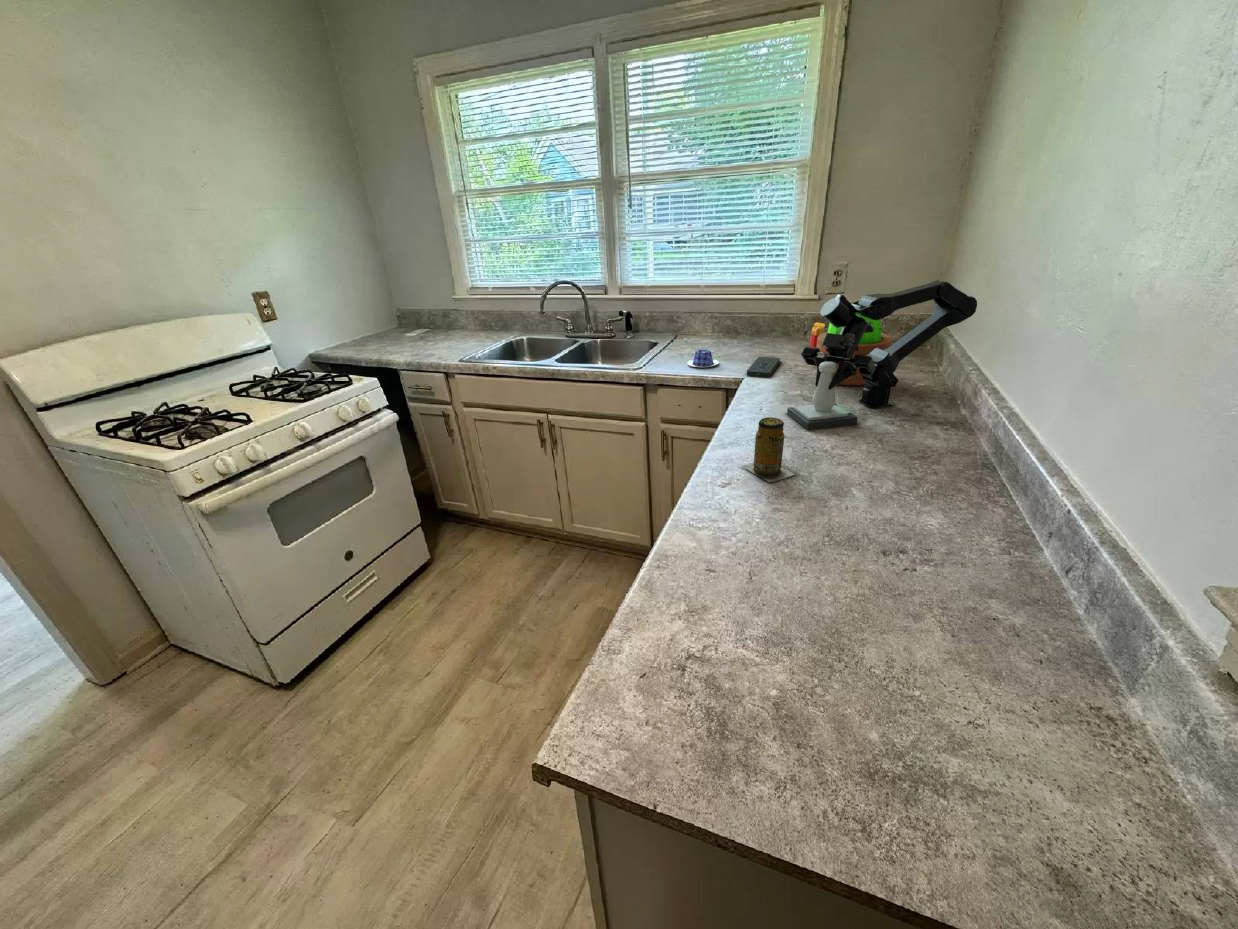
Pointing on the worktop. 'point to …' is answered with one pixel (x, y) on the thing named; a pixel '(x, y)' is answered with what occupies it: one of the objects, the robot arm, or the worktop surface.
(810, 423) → the kitchen scale
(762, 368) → the smart home device
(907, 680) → the worktop surface
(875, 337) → the potted cactus
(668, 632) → the worktop surface
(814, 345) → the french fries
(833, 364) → the salt shaker
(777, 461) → the condiment
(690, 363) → the pudding
